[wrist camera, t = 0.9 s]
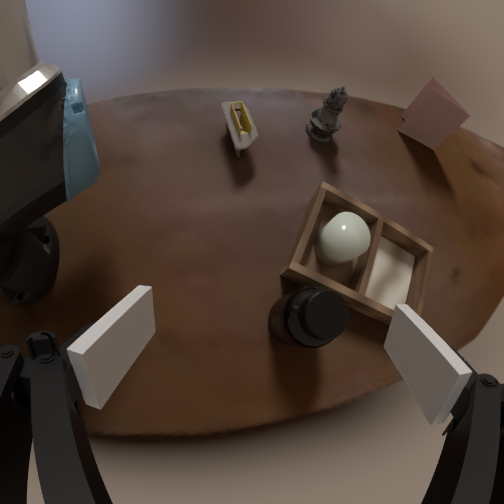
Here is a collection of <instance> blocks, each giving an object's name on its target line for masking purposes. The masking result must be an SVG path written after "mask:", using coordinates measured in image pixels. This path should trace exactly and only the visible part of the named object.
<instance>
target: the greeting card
mask: <svg viewBox="0 0 504 504" xmlns="http://www.w3.org/2000/svg"><path fill="white" fill-rule="evenodd" d="M469 116H470V115H469V114H468V113H467V112H466V111H465V109H464V108H463V107H462V106H461V105H460V104H459V103H458V102H457V101H456V100H455V99H454V97H453V96H452V95H451V94H450V93H449V92H448V91H446V89H444V87H443V86H442V85H441V84H439V83H438V82H437V81H436V80H435V79H434V78H433V77H432V79H431V80H430V81H429V82H428V84H427V85H426V86H425V87H424V88H423V90H422V91H421V92H420V93H419V95H418V96H417V97H416V98H415V100H414V101H413V102H412V103H411V104H410V106H409V107H408V108H407V109H406V110H405V112H404V113H403V114H402V115H401V117H402V118H403V119H404V120H405V122H404V123H403V124H402V125H401V127H400V128H399V129H398V130H397V131H399V132H401V133H403V134H405V135H407V136H409V137H411V138H413V139H414V140H416V141H418V142H420V143H422V144H423V145H425V146H427V147H429V148H430V149H432V150H434V149H435V148H436V147H437V146H438V145H440V144H441V143H442V142H443V141H444V140H445V139H446V138H447V137H448V136H449V135H450V134H451V133H453V132H454V131H455V130H456V129H457V128H458V127H459V126H460V125H461V124H462V123H463V122H464V121H465V120H466V119H467V118H468V117H469Z"/></svg>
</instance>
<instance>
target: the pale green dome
mask: <svg viewBox="0 0 504 504" xmlns="http://www.w3.org/2000/svg"><path fill="white" fill-rule="evenodd" d="M370 239H371V238H370V231H369V228H368V226H367V224H366V223H365V222H364V220H363V219H362V218H361V217H359V216H358V215H356V214H354V213H351V212H342V213H339V214H337V215H336V216H335V217H334V218H333V219H332V220H331V221H330V222H329V223H328V224H327V225H325V226H324V227H323V228H322V229H321V230H320V231H319V232H318V233H317V234H316V236H315V238H314V244H313V246H314V251H315V254H316V256H317V257H318V259H319V260H320V261H321V262H322V263H324V264H325V265H327V266H330V267H338V266H341V265H343V264H345V263H347V262H349V261H350V260H352V259H354V258H356V257H358V256H360V255H361V254H363V253H364V252H366V250H367V249H368V247H369V245H370Z"/></svg>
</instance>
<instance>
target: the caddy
mask: <svg viewBox="0 0 504 504" xmlns="http://www.w3.org/2000/svg"><path fill="white" fill-rule="evenodd" d="M342 212H351V213H354V214H356V215H358V216H359V217H361V218H362V219H363V220H364V222H365V223H366V224H367V226H368V228H369V231H370V238H371V239H370V245H369V247H368V249H367V250H366V252H364V253H363V254H361V255H360V256H358V257H356V258H354V259H352V260H350V261H349V262H347V263H345V264H343V265H341V266H338V267H330V266H327V265H325V264H324V263H322V262H321V261H320V260H319V259H318V257H317V256H316V254H315V251H314V246H313V244H314V238H315V236H316V234H317V233H318V232H319V231H320V230H321V229H322V228H323V227H324V226H325V225H327V224H328V223H329V222H330V221H331V220H332V219H333V218H334V217H335V216H336V215H337V214H339V213H342ZM432 255H433V247H431V246H430V245H429V244H427V243H426V242H424V241H423V240H421V239H420V238H418V237H417V236H415V235H414V234H412V233H411V232H409V231H407V230H406V229H404V228H403V227H401V226H400V225H398V224H396V223H395V222H393V221H392V220H390V219H388V218H387V217H385V216H384V215H382V214H380V213H379V212H377V211H375V210H374V209H372V208H370V207H368V206H367V205H365V204H363V203H361V202H360V201H358V200H356V199H354V198H353V197H351V196H349V195H347V194H345V193H344V192H342V191H340V190H338V189H336V188H334V187H333V186H331V185H329V184H327V183H325V182H322V183H321V184H320V186H319V187H318V188H317V190H316V191H315V192H314V194H313V195H312V198H311V200H310V203H309V205H308V208H307V210H306V213H305V215H304V218H303V220H302V223H301V225H300V228H299V230H298V233H297V235H296V238H295V240H294V243H293V245H292V247H291V250H290V252H289V255H288V257H287V259H286V262H285V264H284V267H283V269H282V271H281V274H280V275H281V276H283V277H285V278H287V279H289V280H292V281H294V282H296V283H298V284H300V285H302V286H304V287H307V286H319V287H323V288H325V289H327V290H329V291H333V292H336V293H337V294H340V295H341V297H343V298H344V300H345V301H346V303H347V305H348V307H349V308H352V309H354V310H356V311H358V312H360V313H362V314H365V315H367V316H369V317H371V318H373V319H375V320H378V321H380V322H382V323H384V324H386V325H389V326H390V323H391V320H392V316H393V312H394V309H395V305H396V304H407V305H408V306H409V307H410V308H411V309H412V310H413V311H414V312H415V313H416V314H417V315H418V316H419V317H420V318H421V314H422V310H423V305H424V301H425V296H426V291H427V286H428V281H429V275H430V269H431V262H432Z"/></svg>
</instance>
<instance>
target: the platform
mask: <svg viewBox="0 0 504 504" xmlns="http://www.w3.org/2000/svg"><path fill="white" fill-rule="evenodd" d="M239 102H241V104H240V103H239ZM239 102H223V103H222V105H221V107H222V110H223V113H224V116H225V119H226V122H227V123H226V125H227V127H228V130H229V133H230V136H231V139H232V142H233V145H234V148H235V151H236V154H237V158H238V159H239V157H240V152H241V149H246V148H247V147H248V146H249V145H250V144H251V143H252V142H253V141H254V140H255V139H256V138H257V137H258V132H257V130H256V127H255V125H254V122H253V120H252V118H251V115H250V113H249V110H248V108H247V106H246V105H245V104H243V102H242V101H239ZM235 111H240V112H241V115H240V121H238V118H237V115H236V113H235Z"/></svg>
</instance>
